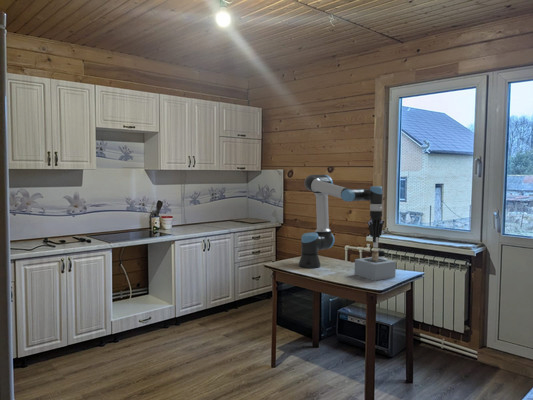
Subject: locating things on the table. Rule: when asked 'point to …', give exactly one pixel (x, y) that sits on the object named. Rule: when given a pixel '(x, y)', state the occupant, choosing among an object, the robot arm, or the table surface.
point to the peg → (375, 255)
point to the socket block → (375, 268)
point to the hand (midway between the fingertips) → (375, 247)
